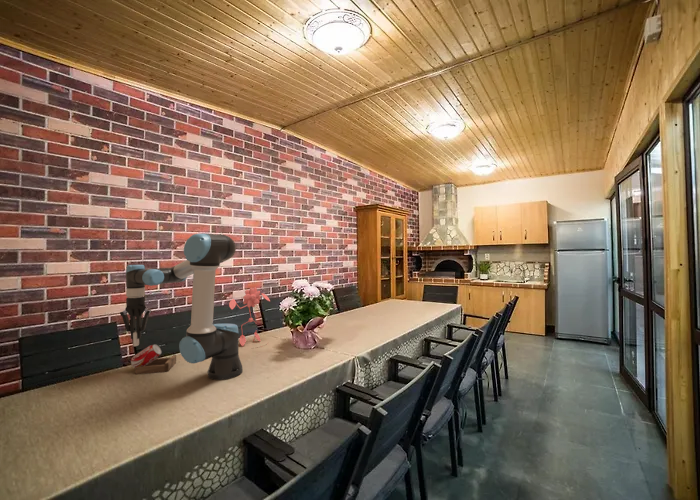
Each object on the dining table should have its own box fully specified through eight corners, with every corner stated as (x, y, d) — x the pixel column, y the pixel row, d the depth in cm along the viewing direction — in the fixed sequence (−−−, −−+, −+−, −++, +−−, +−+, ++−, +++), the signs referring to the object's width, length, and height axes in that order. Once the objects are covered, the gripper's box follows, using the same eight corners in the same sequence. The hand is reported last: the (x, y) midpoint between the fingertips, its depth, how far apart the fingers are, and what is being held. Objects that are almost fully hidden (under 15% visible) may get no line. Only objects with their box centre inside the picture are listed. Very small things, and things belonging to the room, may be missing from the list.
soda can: (132, 370, 151) (155, 355, 153) (126, 357, 153) (149, 342, 155) (142, 370, 157) (164, 355, 159) (136, 357, 159) (158, 343, 161)
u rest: (168, 371, 153) (168, 363, 153) (135, 374, 150) (135, 365, 150) (176, 362, 165) (176, 355, 165) (145, 365, 161) (145, 357, 161)
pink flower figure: (226, 347, 190) (226, 288, 190) (263, 338, 210) (264, 284, 209) (239, 353, 180) (240, 291, 180) (277, 343, 199) (278, 286, 199)
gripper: (153, 295, 160) (154, 342, 160) (124, 296, 157) (124, 344, 157) (147, 297, 153) (148, 346, 153) (116, 298, 150) (117, 348, 150)
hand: (136, 345), depth 155 cm, fingers closed
